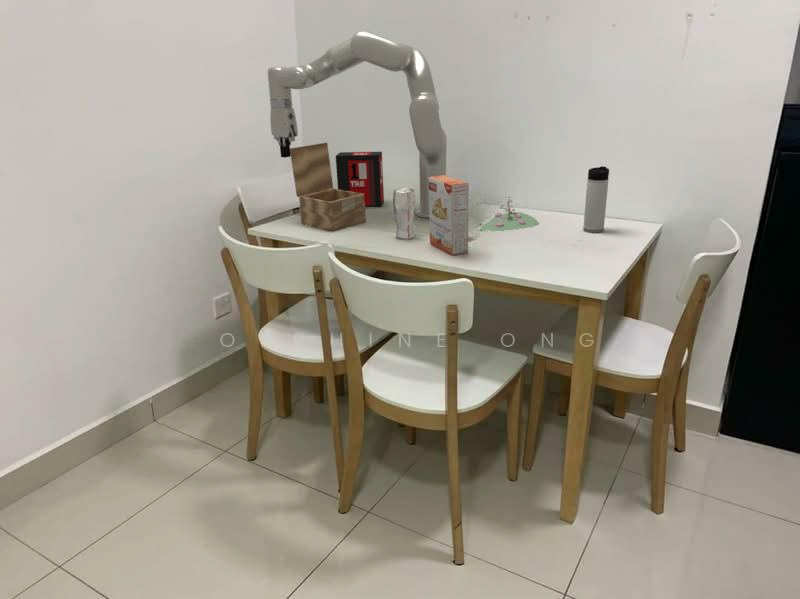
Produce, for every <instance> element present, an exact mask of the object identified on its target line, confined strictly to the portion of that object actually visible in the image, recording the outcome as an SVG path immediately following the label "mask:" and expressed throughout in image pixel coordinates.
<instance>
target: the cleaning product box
mask: <svg viewBox="0 0 800 599" xmlns="http://www.w3.org/2000/svg"><path fill="white" fill-rule="evenodd" d="M335 166H336V179H337V180H336V181H337V182H336V183H337V189H338V190H344V191H350V192H356V193H362V194H364V198H365V207H381V208H382V207H383V205H384V203H385V196H384V195H385V192H384V190H385V189H384V171H383V168H384V167H383V152H382V151H347V152H346V151H344V152H343V151H340V152H338V154H336V155H335Z"/></svg>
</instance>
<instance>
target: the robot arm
mask: <svg viewBox="0 0 800 599" xmlns="http://www.w3.org/2000/svg"><path fill="white" fill-rule="evenodd" d="M365 62H366V63H369V64H372V65H375V66H377V67H380V68H382V69H385V70H387V71H390V72H394V73H395V72H397V73H398V72H403V74H405V77H406V83H407V87H408V90H409V96H410V100H411V102H410V104H409V107H408V108H409V109H408V111H409V112H408V113H409V114H408V115H409V118H410V122H411V128H412V132H413V137H414V141H415V145H416V148H417V150H418V152H419V157H418V158H419V159H418V160H419V161H418V163H419V164H418V165H419V173H418V174H419V209H417V210H415V214H416V216H417V217H420V218H425V219H429V177H433V176H441V175H446V176H447V148H448V146H447V140H448V139H447V134H446V132H445V130H444V129H443V128H442V124H441V118H440V114H439V113H440V112H439V111H440V105H439V101H438V97H437V94H436V90H435V85H434V81H433V77H432V72H431V68H430V65H429V62H428V60H427V59H426V57H425V55H424V54H423V53H422V52H421V51H420V50H419V49H417V48H416V47H413V46H411V45H409V44H408V45H407V44H403V43H397V42H394V41H391V40H388V39H385V38H383V37H380V36H377V35H376V34H375V33H374V32H371V31H369V30H368V31H366V30H359V31H358V32H355V33H354V34H353V35H352V37H350V38H349V39H346V40H344V41H342V42H341V43H337V44H336V45H334V46H332V47H329V48H328V50H327V51H326V52H325V53H324V54H323V55H321V56H320V57H318V58H316V59H314V60H312V61H309V62H307V63H306V64H304V65H295V66H291V67H290V66H289V67H287V66H286V67H285V66H272V67H269V68H268V69H267V82H268V91H269V102H270V103H269V104H270V116H269V117H270V118H269V120H270V130H271V135H272V136H273V139H274V140H275V141H277V143H278V146H279V149H280V150H279V151H280V157H281V158H291V155H290V148H291V145H292V142H295V141H296V137H298V134H299V133H298V132H299V131H298V124H297V122H298V121H297V117H296V114H295V109H294V108H293V98H292V90H304V89H309V88H312V87H313V86H315V85H317V84H320V83H322V82H324V81H325V80H328V79H330V78H332V77H334V76H337V75H340V74H341V73H343V72H347V70H350V69H351V68H354V67H356V66H358V65H360V64H363V63H365Z"/></svg>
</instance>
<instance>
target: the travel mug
mask: <svg viewBox="0 0 800 599" xmlns="http://www.w3.org/2000/svg"><path fill="white" fill-rule="evenodd" d="M609 176H610V169H609V168H607V166H602V165H601V166H598V167H591V168H589V169H588V172H587V183H586V192H585V193H586V194H585V205H584V217H583V231H584V232H586V233H590V234H591V233H592V234H599V233H600V234H601V233H603V232H604V229H605V218H606V211H607V210H606V209H607V198H608V191H609V190H608V188H609Z"/></svg>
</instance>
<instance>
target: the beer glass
mask: <svg viewBox="0 0 800 599" xmlns="http://www.w3.org/2000/svg"><path fill="white" fill-rule="evenodd" d="M415 196H416V194H415V189H412V188H397V189H394V190H393V198H392V200H393V202H392V203H393V204H392V205H393V213H394V218H395V222H396V232H395V238H396V239H399V240H410V239H413V238H415V237H416V236H415V231H414V230H415V229H414V220H415V214H416V197H415Z"/></svg>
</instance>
